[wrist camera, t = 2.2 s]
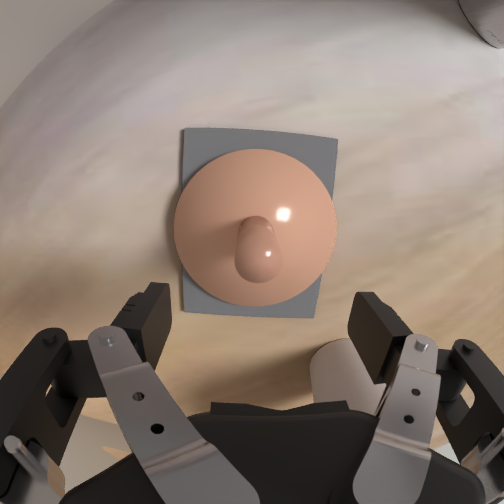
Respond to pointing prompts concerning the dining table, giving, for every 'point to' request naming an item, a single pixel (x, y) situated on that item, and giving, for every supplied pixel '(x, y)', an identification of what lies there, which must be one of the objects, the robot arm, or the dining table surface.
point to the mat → (230, 140)
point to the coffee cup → (343, 377)
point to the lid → (255, 227)
